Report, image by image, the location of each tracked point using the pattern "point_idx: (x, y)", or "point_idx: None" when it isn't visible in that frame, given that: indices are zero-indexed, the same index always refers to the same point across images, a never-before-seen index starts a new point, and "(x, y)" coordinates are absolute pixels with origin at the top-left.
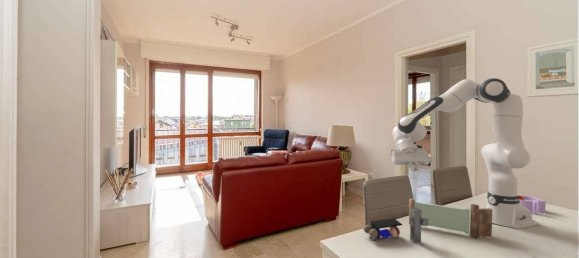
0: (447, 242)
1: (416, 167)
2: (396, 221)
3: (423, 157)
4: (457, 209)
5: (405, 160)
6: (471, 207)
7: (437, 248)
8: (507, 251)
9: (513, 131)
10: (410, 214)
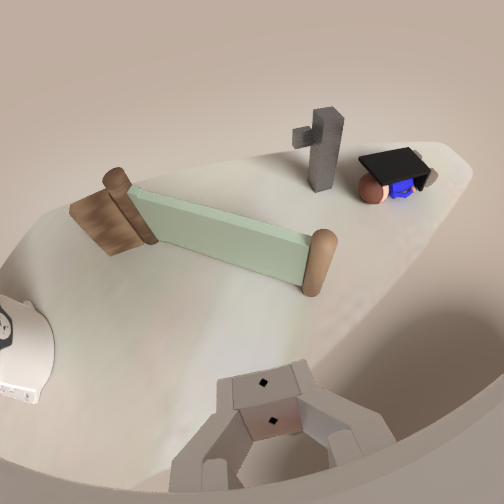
0: (240, 192)
1: (246, 394)
2: (374, 167)
3: None
4: (162, 196)
5: (487, 402)
6: (126, 178)
7: (276, 164)
8: (135, 185)
9: None
10: (341, 134)
